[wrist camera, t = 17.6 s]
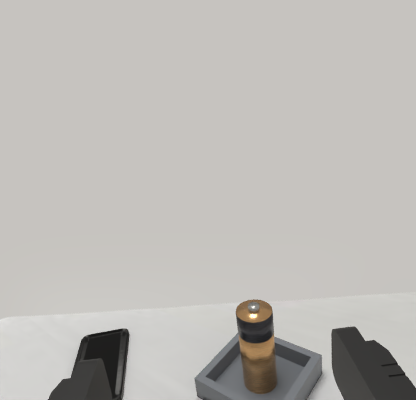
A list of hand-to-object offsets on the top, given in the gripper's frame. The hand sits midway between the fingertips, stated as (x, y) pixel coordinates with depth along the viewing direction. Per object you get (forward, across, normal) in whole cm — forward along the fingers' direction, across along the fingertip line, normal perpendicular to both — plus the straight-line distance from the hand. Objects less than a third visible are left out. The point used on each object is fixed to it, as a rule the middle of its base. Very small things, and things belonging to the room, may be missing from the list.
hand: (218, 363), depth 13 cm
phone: (+34, +19, +31) cm, 50 cm away
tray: (+28, -4, +30) cm, 41 cm away
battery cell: (+27, -4, +29) cm, 40 cm away
